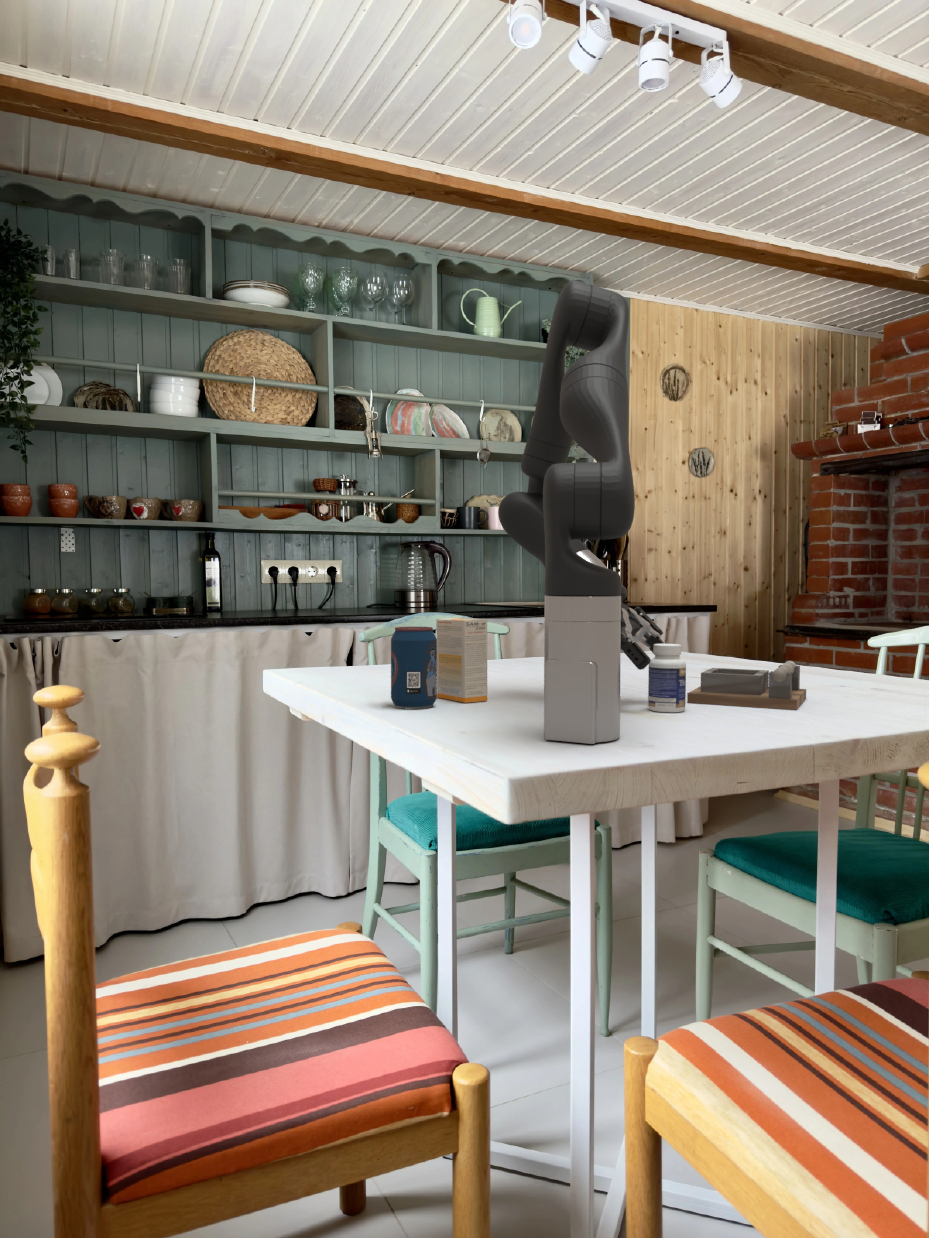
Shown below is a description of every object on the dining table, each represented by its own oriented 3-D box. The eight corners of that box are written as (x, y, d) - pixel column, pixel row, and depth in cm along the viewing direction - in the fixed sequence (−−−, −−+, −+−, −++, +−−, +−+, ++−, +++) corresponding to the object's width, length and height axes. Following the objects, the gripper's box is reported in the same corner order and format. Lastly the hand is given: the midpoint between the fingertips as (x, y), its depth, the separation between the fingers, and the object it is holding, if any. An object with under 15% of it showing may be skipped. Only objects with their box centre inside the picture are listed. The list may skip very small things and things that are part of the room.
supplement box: (489, 701, 134) (489, 618, 133) (464, 703, 131) (464, 619, 130) (459, 695, 140) (459, 616, 140) (435, 697, 138) (435, 617, 137)
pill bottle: (686, 713, 121) (687, 646, 121) (648, 712, 122) (649, 645, 122) (684, 708, 127) (685, 643, 126) (647, 707, 128) (648, 642, 127)
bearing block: (796, 710, 125) (797, 669, 124) (687, 702, 132) (687, 664, 132) (806, 698, 137) (806, 661, 137) (705, 692, 144) (706, 657, 144)
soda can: (392, 703, 131) (391, 626, 131) (436, 702, 132) (436, 626, 131) (389, 710, 124) (389, 628, 124) (436, 709, 125) (436, 628, 124)
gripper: (583, 568, 124) (655, 650, 118) (626, 568, 135) (694, 643, 129) (551, 603, 127) (620, 684, 121) (597, 601, 139) (661, 675, 132)
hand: (658, 663), depth 125 cm, fingers open, 8 cm apart
